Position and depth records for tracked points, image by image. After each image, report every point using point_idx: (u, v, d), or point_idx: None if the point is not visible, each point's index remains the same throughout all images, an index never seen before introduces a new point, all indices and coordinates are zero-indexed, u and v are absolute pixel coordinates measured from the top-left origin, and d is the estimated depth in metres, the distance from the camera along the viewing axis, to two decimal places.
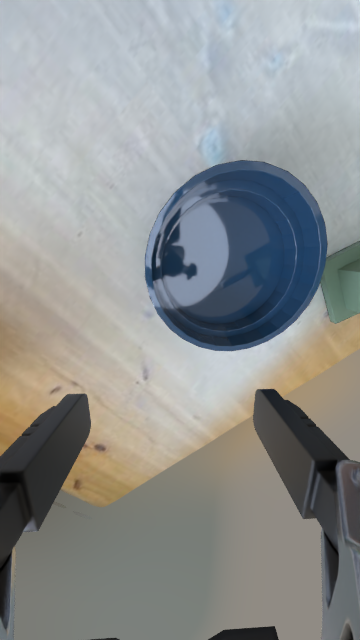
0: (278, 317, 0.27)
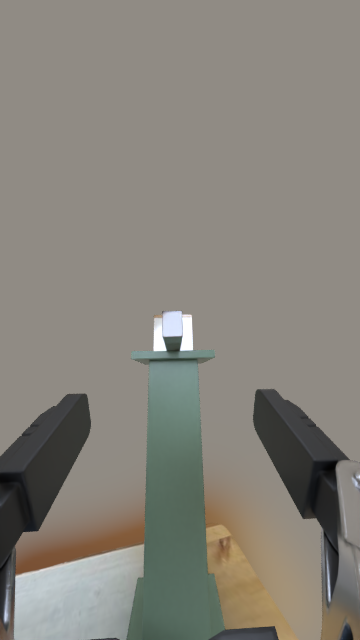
0: None
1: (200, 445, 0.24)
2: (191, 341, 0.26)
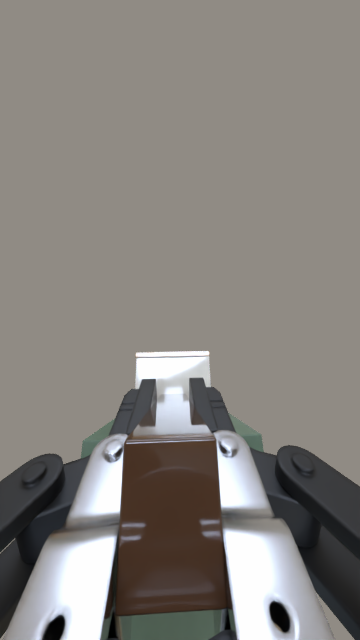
0: None
1: None
2: None
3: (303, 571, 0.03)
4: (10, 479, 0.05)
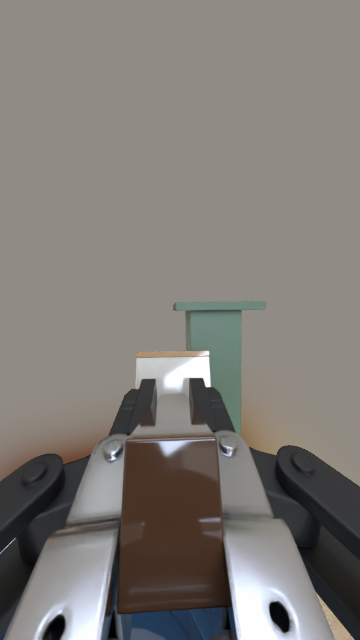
0: None
1: (240, 388, 0.26)
2: None
3: (303, 572, 0.03)
4: (10, 479, 0.05)
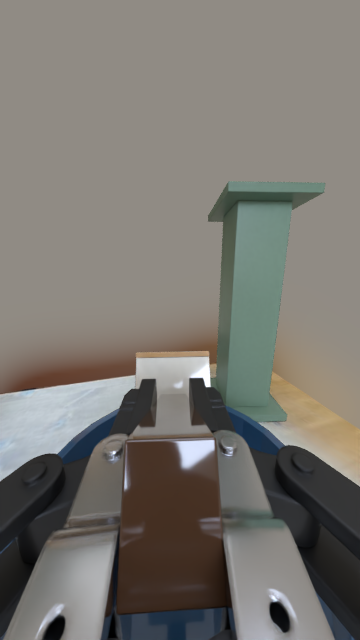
0: None
1: (281, 288, 0.26)
2: None
3: (302, 571, 0.03)
4: (10, 479, 0.05)
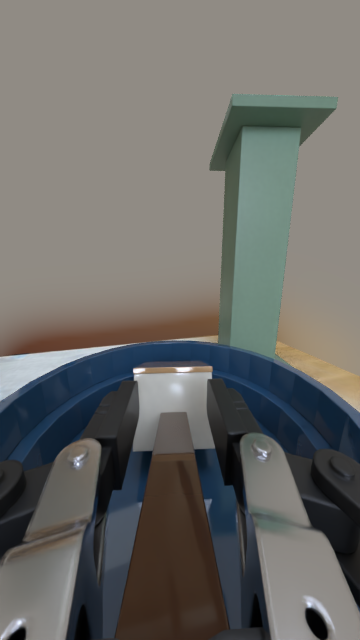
0: (279, 387, 0.16)
1: (288, 227, 0.24)
2: None
3: (344, 588, 0.03)
4: None
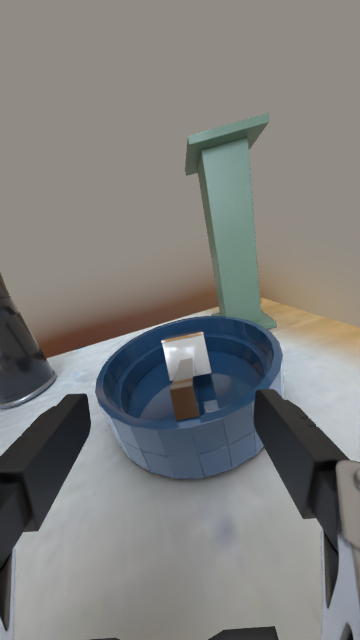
0: (250, 336, 0.27)
1: (252, 217, 0.31)
2: (208, 362, 0.24)
3: None
4: None
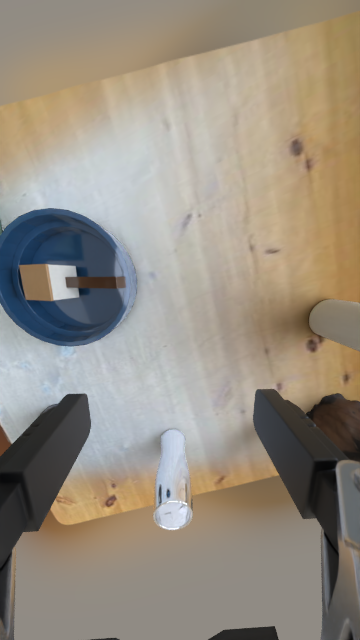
0: (38, 222, 0.30)
1: None
2: (68, 266, 0.32)
3: None
4: None
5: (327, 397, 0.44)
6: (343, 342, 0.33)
